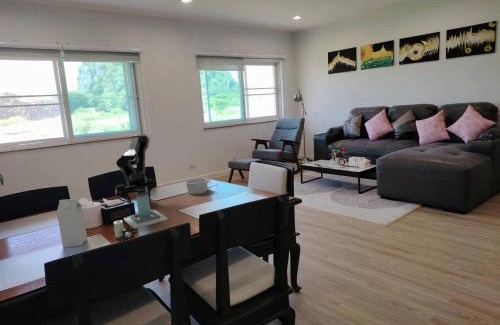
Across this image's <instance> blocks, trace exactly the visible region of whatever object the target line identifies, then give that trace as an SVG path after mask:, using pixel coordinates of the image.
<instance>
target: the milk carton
mask: <svg viewBox="0 0 500 325" xmlns="http://www.w3.org/2000/svg"><path fill="white" fill-rule="evenodd" d="M58 202H59V203H58V206H57V210H56V215H57V221H58V227H59V232H60V239H61V245H62V248H63V249H64V248H73V247H74V248H75V247H81V246H82V245H83V244H84V243H85V242H86V241H87V240H88V235H87V229H86V223H85V217H84V216H85V215H84V210H83V205H82V204H81V203H80V202H79V201H78V198H71V199H60V200H58Z"/></svg>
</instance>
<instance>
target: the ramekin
mask: <svg viewBox="0 0 500 325" xmlns="http://www.w3.org/2000/svg"><path fill="white" fill-rule="evenodd" d="M185 185H186V189H187V192H188V194H191V195H200V194H204V193H206V192H207V191H208V179H207V178H194V179H189V180H187V181H185Z"/></svg>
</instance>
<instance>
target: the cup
mask: <svg viewBox="0 0 500 325" xmlns="http://www.w3.org/2000/svg"><path fill="white" fill-rule="evenodd" d="M135 197H136V201H137V202H136V204H137V214H139V219H140V220H141V219H145V218H149V217H151V213H150V211H151V207H150V202H149V196H148V193H147V192H142V193H138V194H137V193H136V194H135Z"/></svg>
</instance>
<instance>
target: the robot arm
mask: <svg viewBox="0 0 500 325" xmlns="http://www.w3.org/2000/svg"><path fill="white" fill-rule="evenodd" d="M129 144H130V145H129V147H128V150H127V151H126V152H124V153H123V155H121V156H120V157H119V158H118V159H117V160H116V165H117V167H118V169H119V170H120V172H122V173H123V174H122V175H124V179H125V183H126V184H127V186H125V184H121V185H120V184H119V185H116V186H115V190H114V194H115V196H116V197H119V198H123V199H124V200H125V201H126V202H128V203H129V204H130V205H132V204H133V202H132V199H131V198H130V194H129V193H128V191H132V192H133V193H136V194H138V193H142V192H147V193H148V196H149V203H150V202H151V201H152V200H151V191H152V190H153V189H154V186H155V184H156V182H155V180H154V179H153V178H150V179H148V178H147V176H146V151H147V150H148V148H149V144H150V137H148V136H147V135H140V134H134V135H133V134H132V135H131V141H130V143H129ZM134 166H136V168H135V167H134ZM135 201H136V203H137V200H135Z"/></svg>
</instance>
